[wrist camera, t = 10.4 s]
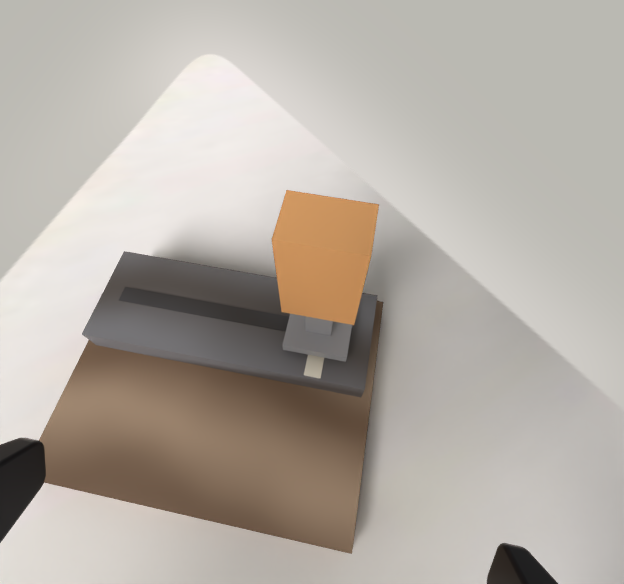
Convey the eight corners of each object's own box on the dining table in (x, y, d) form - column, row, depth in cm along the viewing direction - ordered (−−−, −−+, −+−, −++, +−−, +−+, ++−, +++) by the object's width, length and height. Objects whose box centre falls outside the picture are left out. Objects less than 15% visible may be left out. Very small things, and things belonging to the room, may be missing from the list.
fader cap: (345, 361, 19) (369, 270, 11) (283, 349, 19) (267, 253, 12) (354, 305, 20) (380, 192, 13) (296, 294, 20) (289, 178, 13)
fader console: (348, 550, 18) (355, 557, 15) (40, 479, 19) (-3, 474, 16) (379, 313, 24) (388, 288, 21) (139, 270, 25) (119, 242, 22)
